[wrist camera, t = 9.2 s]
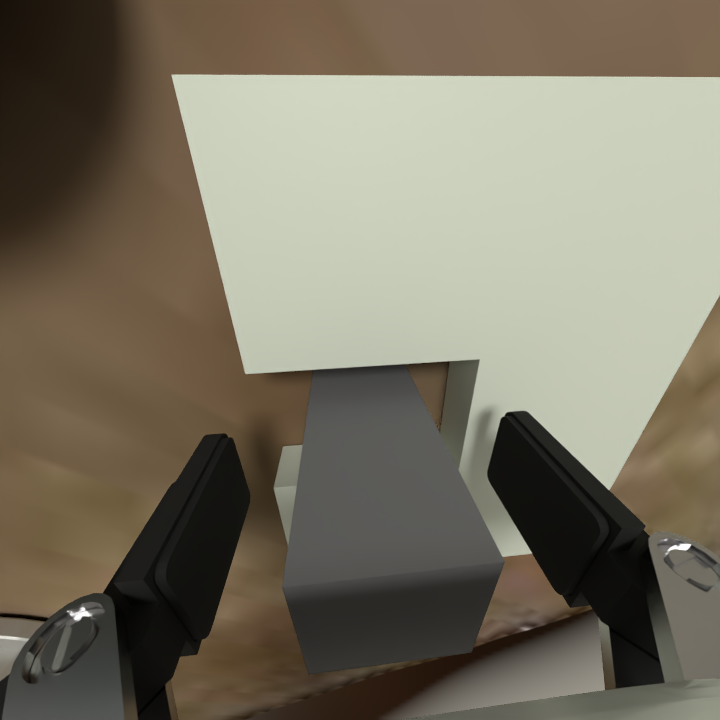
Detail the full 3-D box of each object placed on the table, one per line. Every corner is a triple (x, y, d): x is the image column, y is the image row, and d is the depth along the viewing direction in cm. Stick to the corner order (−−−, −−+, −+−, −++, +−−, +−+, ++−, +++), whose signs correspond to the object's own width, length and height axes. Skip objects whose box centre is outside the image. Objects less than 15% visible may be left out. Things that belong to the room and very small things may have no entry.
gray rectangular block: (400, 432, 14) (471, 652, 7) (322, 438, 14) (308, 674, 6) (404, 362, 12) (504, 561, 5) (313, 368, 12) (282, 587, 5)
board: (547, 509, 18) (576, 548, 16) (301, 534, 17) (296, 579, 15) (720, 113, 9) (842, 77, 7) (215, 115, 8) (171, 74, 6)
